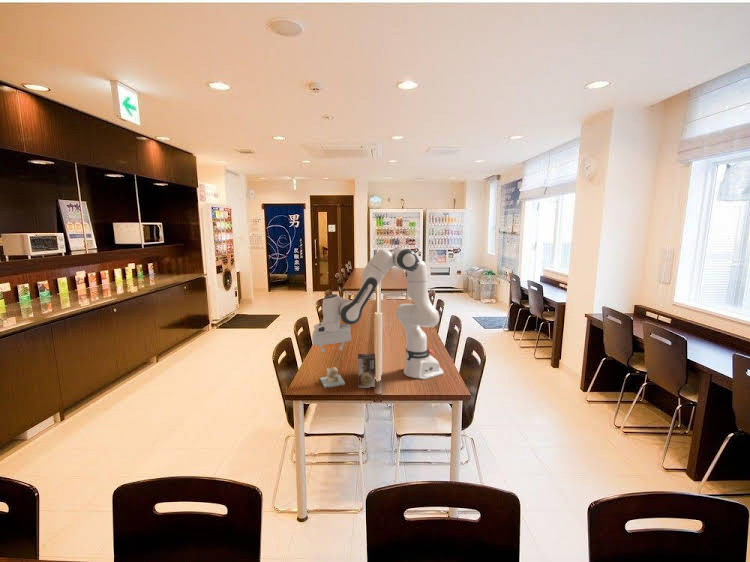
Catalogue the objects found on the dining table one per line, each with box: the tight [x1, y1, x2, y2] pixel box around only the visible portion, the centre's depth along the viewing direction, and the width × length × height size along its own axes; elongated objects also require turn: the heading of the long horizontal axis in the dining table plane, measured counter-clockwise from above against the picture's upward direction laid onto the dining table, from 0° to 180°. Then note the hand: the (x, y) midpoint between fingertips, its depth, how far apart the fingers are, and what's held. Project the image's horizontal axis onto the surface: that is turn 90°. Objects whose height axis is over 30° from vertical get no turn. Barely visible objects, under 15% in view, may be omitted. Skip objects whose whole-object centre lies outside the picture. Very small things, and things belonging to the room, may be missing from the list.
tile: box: [319, 374, 346, 389], centre depth 186 cm, size 11×11×1 cm
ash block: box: [326, 366, 339, 383], centre depth 186 cm, size 5×5×6 cm
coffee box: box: [357, 353, 377, 389], centre depth 181 cm, size 9×6×16 cm
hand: (332, 351), depth 184 cm, fingers open, 8 cm apart
